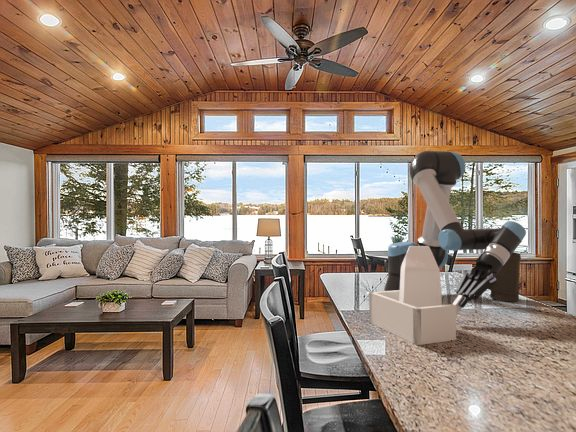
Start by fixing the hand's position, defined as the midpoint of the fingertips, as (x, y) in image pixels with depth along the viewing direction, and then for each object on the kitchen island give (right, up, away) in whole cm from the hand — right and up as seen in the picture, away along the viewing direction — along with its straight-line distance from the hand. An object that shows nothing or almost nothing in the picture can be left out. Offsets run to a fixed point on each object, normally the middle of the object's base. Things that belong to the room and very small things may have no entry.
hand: (451, 312), depth 129 cm
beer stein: (+36, -4, +37) cm, 52 cm away
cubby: (-16, -4, -6) cm, 17 cm away
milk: (-11, -4, -2) cm, 12 cm away
